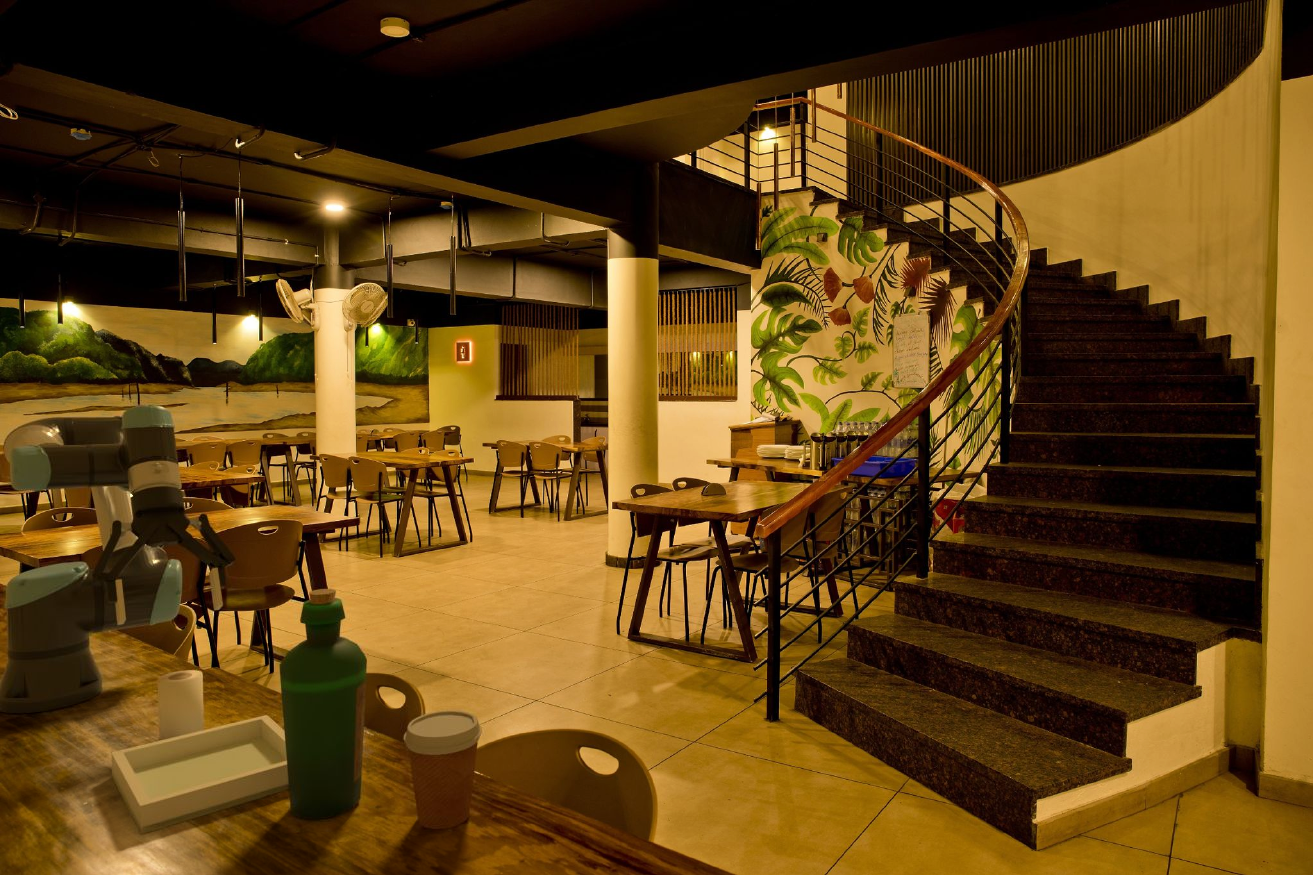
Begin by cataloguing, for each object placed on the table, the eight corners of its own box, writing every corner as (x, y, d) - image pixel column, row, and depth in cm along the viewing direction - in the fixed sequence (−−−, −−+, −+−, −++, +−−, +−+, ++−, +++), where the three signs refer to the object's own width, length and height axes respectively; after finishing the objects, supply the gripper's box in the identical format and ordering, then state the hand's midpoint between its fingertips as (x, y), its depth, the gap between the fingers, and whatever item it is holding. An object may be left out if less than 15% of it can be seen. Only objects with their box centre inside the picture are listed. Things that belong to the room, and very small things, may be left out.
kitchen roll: (155, 739, 125) (153, 675, 125) (198, 729, 129) (197, 667, 129) (163, 751, 121) (162, 685, 120) (208, 740, 125) (206, 676, 124)
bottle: (386, 793, 108) (383, 586, 107) (329, 832, 98) (326, 604, 97) (322, 781, 111) (319, 580, 110) (261, 818, 101) (257, 597, 100)
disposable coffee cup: (462, 840, 96) (461, 741, 95) (389, 832, 98) (388, 735, 97) (494, 802, 105) (493, 711, 105) (427, 795, 107) (426, 706, 107)
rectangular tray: (112, 777, 112) (111, 752, 112) (267, 736, 126) (266, 714, 126) (140, 834, 97) (140, 805, 97) (313, 781, 111) (313, 756, 111)
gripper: (67, 489, 125) (79, 622, 118) (242, 479, 142) (261, 595, 135) (62, 506, 130) (74, 635, 123) (231, 495, 147) (249, 608, 140)
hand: (171, 615), depth 129 cm, fingers open, 13 cm apart
